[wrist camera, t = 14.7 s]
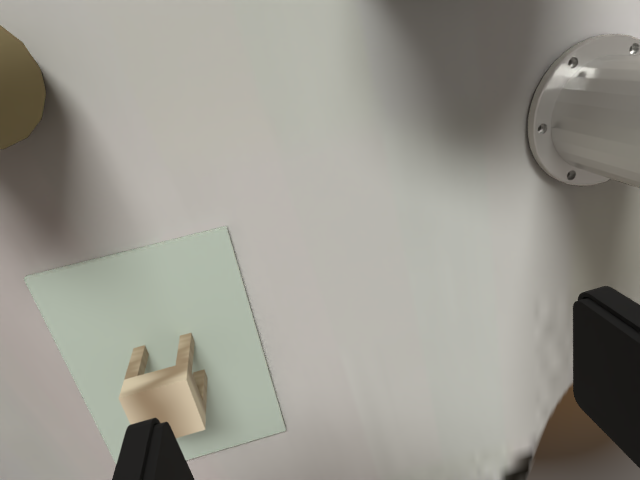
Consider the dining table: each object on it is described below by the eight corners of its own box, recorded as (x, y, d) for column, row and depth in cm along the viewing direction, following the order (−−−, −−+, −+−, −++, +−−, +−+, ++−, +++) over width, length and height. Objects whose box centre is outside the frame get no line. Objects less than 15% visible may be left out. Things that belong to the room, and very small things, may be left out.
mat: (226, 225, 39) (226, 228, 39) (285, 426, 48) (286, 430, 47) (26, 275, 38) (23, 278, 37) (124, 474, 46) (123, 479, 46)
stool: (191, 332, 41) (186, 379, 35) (207, 378, 43) (205, 429, 37) (133, 348, 41) (118, 398, 35) (152, 393, 43) (141, 448, 37)
